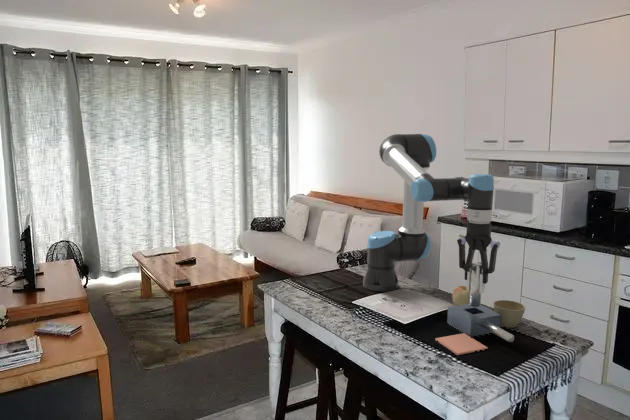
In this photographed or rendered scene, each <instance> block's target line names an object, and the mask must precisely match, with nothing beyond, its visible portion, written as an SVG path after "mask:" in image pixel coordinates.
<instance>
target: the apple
mask: <svg viewBox="0 0 630 420" xmlns="http://www.w3.org/2000/svg"><path fill="white" fill-rule="evenodd" d="M469 294H470V291H467V285H466V286H465V285H459V286H457V287H455V288H454V290H453V291H452V301H453V304H454V306H458V305H465V304H469Z"/></svg>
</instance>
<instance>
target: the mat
mask: <svg viewBox="0 0 630 420" xmlns="http://www.w3.org/2000/svg"><path fill="white" fill-rule="evenodd" d="M434 339H435V342H437V341H438V342H437V343H438V344H440V345H442V346H443V347H445V348H446V349H448V350H449V351H450V352H452V353H454V355H456V356H461V355H465V354H470V353H475V351H477V352H480V350H482V351H486V350H485V349H487V350H488V346H486V345H484V344H482V343H481V342H480V341H477V340H476V339H475V338H474V337H472V338H471V337H469V336H468V335H466V334H465V333H462V332H461V333H456V334H452V335H447V336H442V337H441V336H440V337H436V338H434Z"/></svg>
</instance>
